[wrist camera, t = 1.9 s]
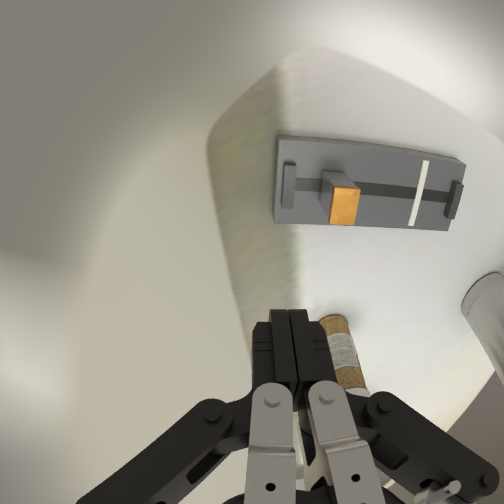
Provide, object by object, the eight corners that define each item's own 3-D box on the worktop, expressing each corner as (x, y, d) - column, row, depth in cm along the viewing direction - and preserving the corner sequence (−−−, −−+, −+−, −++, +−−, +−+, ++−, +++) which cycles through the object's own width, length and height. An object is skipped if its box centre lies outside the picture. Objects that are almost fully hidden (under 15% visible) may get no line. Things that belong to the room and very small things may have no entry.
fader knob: (345, 172, 26) (360, 189, 22) (340, 203, 28) (353, 225, 24) (322, 170, 26) (334, 187, 22) (318, 202, 28) (329, 224, 24)
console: (456, 158, 27) (471, 168, 24) (439, 222, 31) (452, 235, 29) (277, 135, 26) (280, 142, 24) (272, 213, 31) (274, 228, 28)
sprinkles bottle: (341, 337, 41) (362, 420, 30) (310, 335, 41) (326, 422, 29) (352, 314, 39) (380, 400, 27) (320, 312, 38) (341, 403, 27)
